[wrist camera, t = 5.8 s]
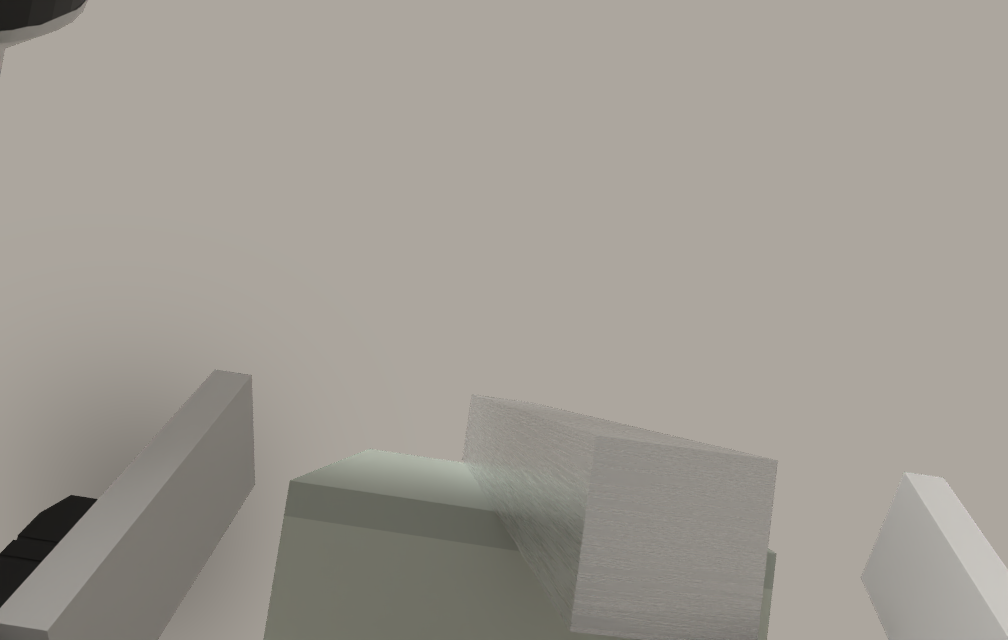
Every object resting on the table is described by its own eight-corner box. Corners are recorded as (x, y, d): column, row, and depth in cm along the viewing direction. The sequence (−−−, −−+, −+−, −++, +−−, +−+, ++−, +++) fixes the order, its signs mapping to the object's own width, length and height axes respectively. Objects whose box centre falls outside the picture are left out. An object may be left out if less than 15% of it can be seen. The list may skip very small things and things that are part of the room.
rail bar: (756, 652, 12) (777, 460, 12) (570, 632, 12) (595, 435, 12) (526, 467, 36) (535, 403, 36) (462, 459, 36) (471, 394, 36)
